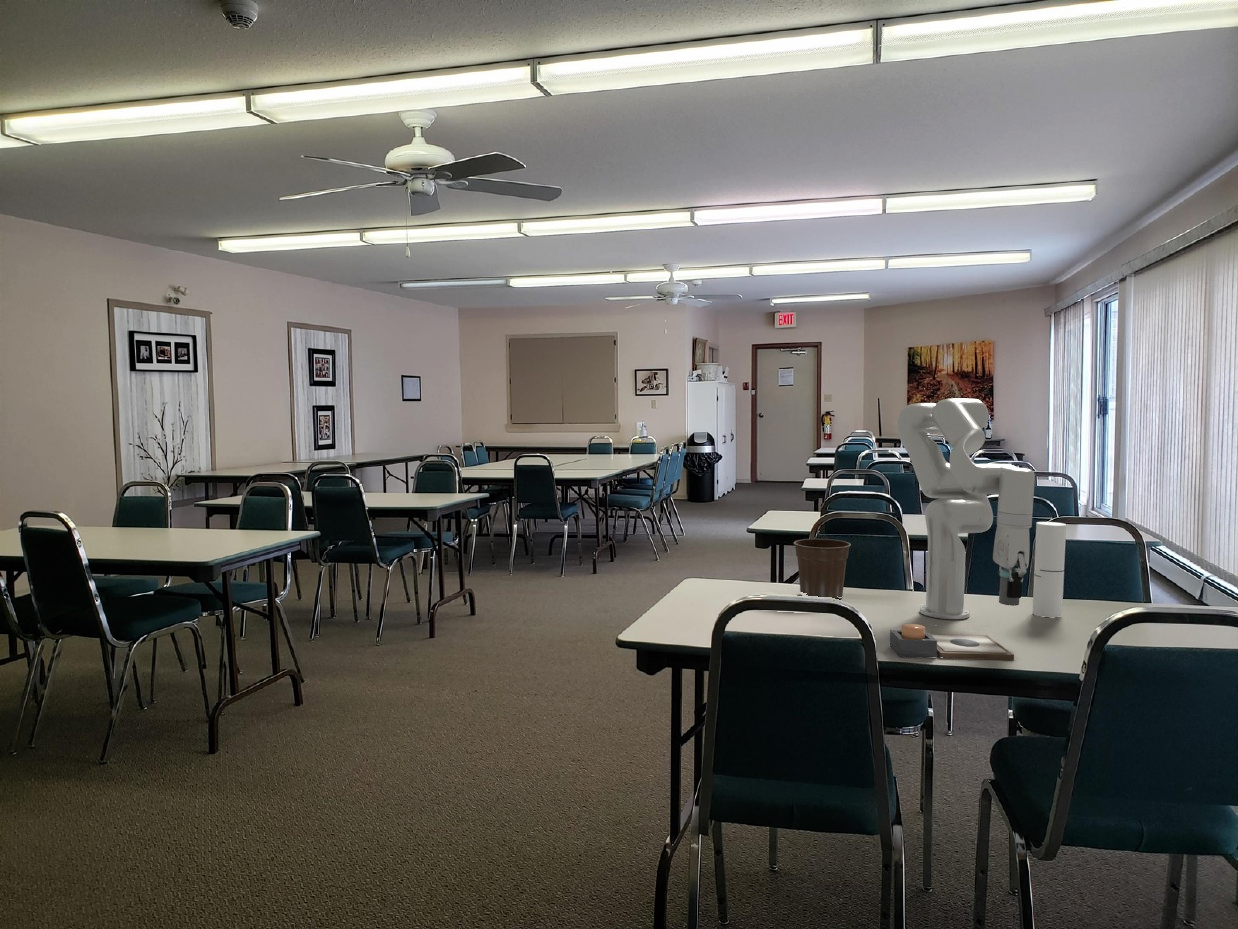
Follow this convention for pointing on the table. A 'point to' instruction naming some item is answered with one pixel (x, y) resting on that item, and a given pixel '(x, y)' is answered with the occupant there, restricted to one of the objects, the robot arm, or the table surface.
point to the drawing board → (970, 647)
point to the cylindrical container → (1049, 569)
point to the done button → (913, 631)
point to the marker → (1003, 589)
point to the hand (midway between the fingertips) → (1009, 594)
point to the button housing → (913, 645)
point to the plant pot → (822, 566)
